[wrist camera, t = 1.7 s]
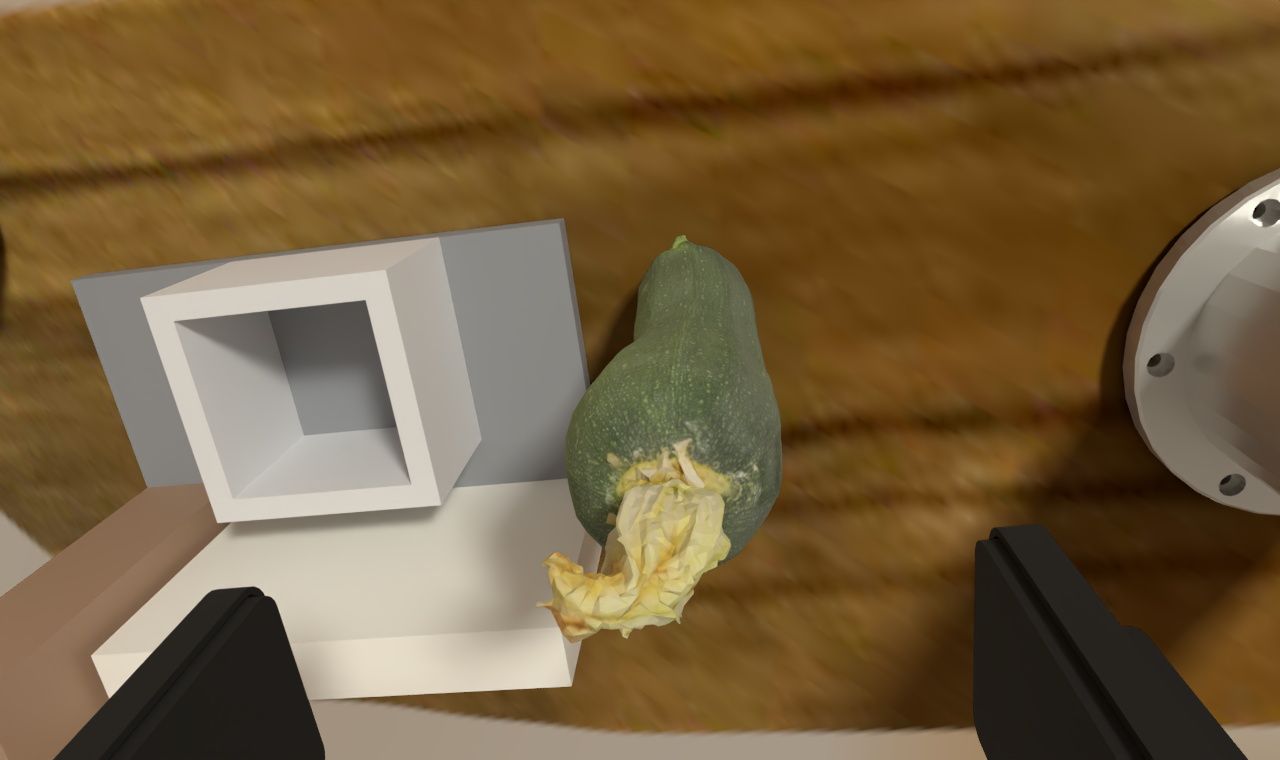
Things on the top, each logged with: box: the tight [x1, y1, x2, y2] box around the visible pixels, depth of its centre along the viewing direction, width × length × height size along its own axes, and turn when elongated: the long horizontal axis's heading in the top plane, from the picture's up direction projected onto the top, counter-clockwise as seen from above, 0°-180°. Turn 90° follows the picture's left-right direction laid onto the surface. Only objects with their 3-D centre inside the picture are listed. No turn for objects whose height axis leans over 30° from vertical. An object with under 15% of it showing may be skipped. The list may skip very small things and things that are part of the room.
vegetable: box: [535, 235, 782, 643], centre depth 20 cm, size 4×4×20 cm
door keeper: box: [0, 218, 602, 760], centre depth 26 cm, size 18×12×13 cm, turn 97°
